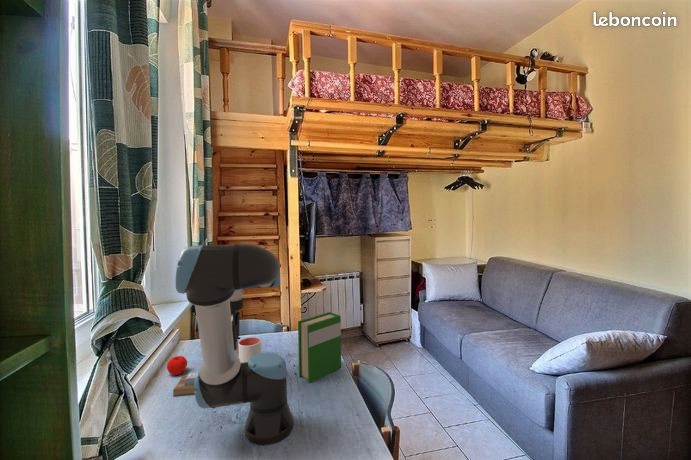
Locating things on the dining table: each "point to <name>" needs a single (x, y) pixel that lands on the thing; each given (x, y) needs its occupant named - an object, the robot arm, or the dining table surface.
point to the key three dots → (190, 378)
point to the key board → (183, 388)
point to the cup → (249, 348)
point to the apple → (177, 365)
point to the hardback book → (319, 346)
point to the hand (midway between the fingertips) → (235, 356)
